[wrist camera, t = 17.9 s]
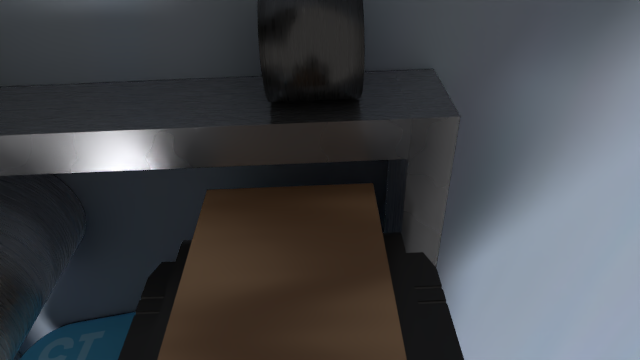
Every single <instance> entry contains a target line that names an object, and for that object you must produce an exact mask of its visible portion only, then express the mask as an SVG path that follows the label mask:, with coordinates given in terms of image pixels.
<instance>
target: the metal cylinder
mask: <svg viewBox="0 0 640 360" xmlns="http://www.w3.org/2000/svg"><path fill="white" fill-rule="evenodd" d="M85 230H86V217H85V212H84V210H83V207H82V205H81V203H80V201H79V200H78V198H77V197H76V195H75V194H74V193H73V192H72V191H71V189H70V188H69V187H68V186H67V185H66V184H64V183H63V182H62V181H61V180H60V179H58V178H57V177H56V176H54V175H53V174H31V175H7V176H0V360H13V359H14V357H15V356H16V354H17V352H18V350H19V349H20V347H21V345H22V343H23V342H24V340H25V338H26V336H27V335H28V333H29V331H30V329H31V328H32V326H33V324H34V322H35V321H36V319H37V317H38V315H39V314H40V312H41V310H42V308H43V307H44V305H45V303H46V301H47V299H48V298H49V296H50V294H51V292H52V291H53V289H54V287H55V285H56V284H57V282H58V280H59V278H60V277H61V275H62V273H63V271H64V270H65V268H66V266H67V264H68V263H69V261H70V259H71V257H72V256H73V254H74V252H75V250H76V249H77V247H78V245H79V243H80V242H81V240H82V238H83V236H84V234H85Z"/></svg>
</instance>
